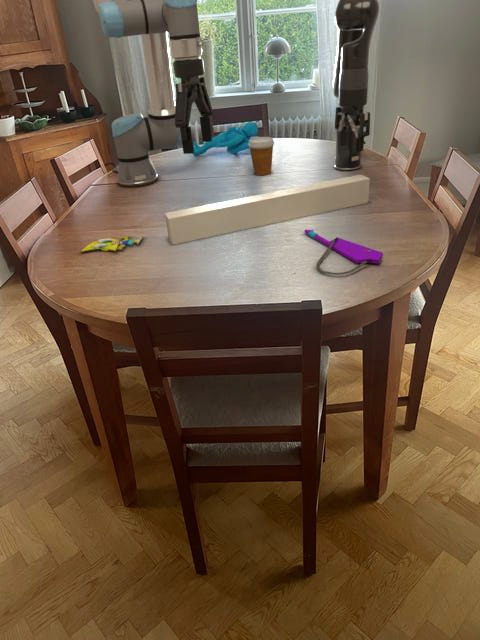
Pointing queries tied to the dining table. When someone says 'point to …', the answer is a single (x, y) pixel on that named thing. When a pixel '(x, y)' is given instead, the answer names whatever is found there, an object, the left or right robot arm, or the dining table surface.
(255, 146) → the disposable coffee cup
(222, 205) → the post
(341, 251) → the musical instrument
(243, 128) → the toy
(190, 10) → the left robot arm
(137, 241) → the toy
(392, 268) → the dining table surface
